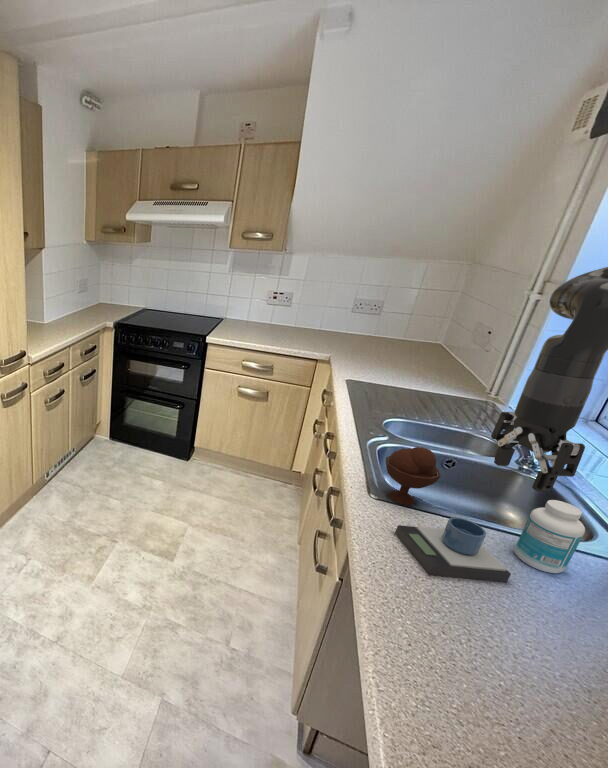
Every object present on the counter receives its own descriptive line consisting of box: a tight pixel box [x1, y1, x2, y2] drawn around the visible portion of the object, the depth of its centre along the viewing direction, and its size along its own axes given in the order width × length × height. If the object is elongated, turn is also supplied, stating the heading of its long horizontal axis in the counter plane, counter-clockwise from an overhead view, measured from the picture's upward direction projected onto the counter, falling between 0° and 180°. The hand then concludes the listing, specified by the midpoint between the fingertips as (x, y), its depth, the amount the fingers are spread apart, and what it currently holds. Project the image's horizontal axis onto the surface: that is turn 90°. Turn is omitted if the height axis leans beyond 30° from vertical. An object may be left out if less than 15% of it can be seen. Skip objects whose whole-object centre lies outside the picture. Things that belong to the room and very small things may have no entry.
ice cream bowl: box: [385, 446, 441, 506], centre depth 101 cm, size 11×11×15 cm
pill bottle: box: [514, 499, 586, 574], centre depth 82 cm, size 8×7×14 cm
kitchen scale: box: [394, 525, 512, 583], centre depth 85 cm, size 14×12×3 cm
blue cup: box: [442, 516, 487, 555], centre depth 84 cm, size 6×6×5 cm
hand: (519, 476), depth 77 cm, fingers open, 8 cm apart
